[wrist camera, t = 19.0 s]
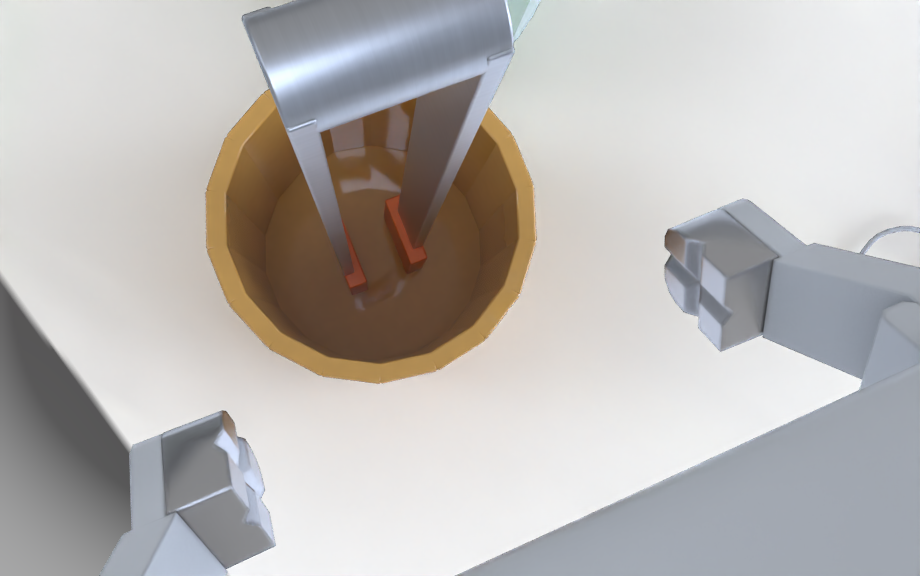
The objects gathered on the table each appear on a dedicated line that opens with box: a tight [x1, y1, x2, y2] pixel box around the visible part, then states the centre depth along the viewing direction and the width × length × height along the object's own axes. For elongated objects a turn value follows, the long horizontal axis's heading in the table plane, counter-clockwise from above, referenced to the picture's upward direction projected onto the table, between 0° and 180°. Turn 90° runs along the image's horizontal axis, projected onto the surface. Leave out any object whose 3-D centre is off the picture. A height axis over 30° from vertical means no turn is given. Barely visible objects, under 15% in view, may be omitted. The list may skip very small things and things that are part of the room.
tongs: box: [242, 0, 515, 295], centre depth 20 cm, size 3×3×22 cm
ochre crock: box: [205, 89, 537, 384], centre depth 27 cm, size 10×10×9 cm
